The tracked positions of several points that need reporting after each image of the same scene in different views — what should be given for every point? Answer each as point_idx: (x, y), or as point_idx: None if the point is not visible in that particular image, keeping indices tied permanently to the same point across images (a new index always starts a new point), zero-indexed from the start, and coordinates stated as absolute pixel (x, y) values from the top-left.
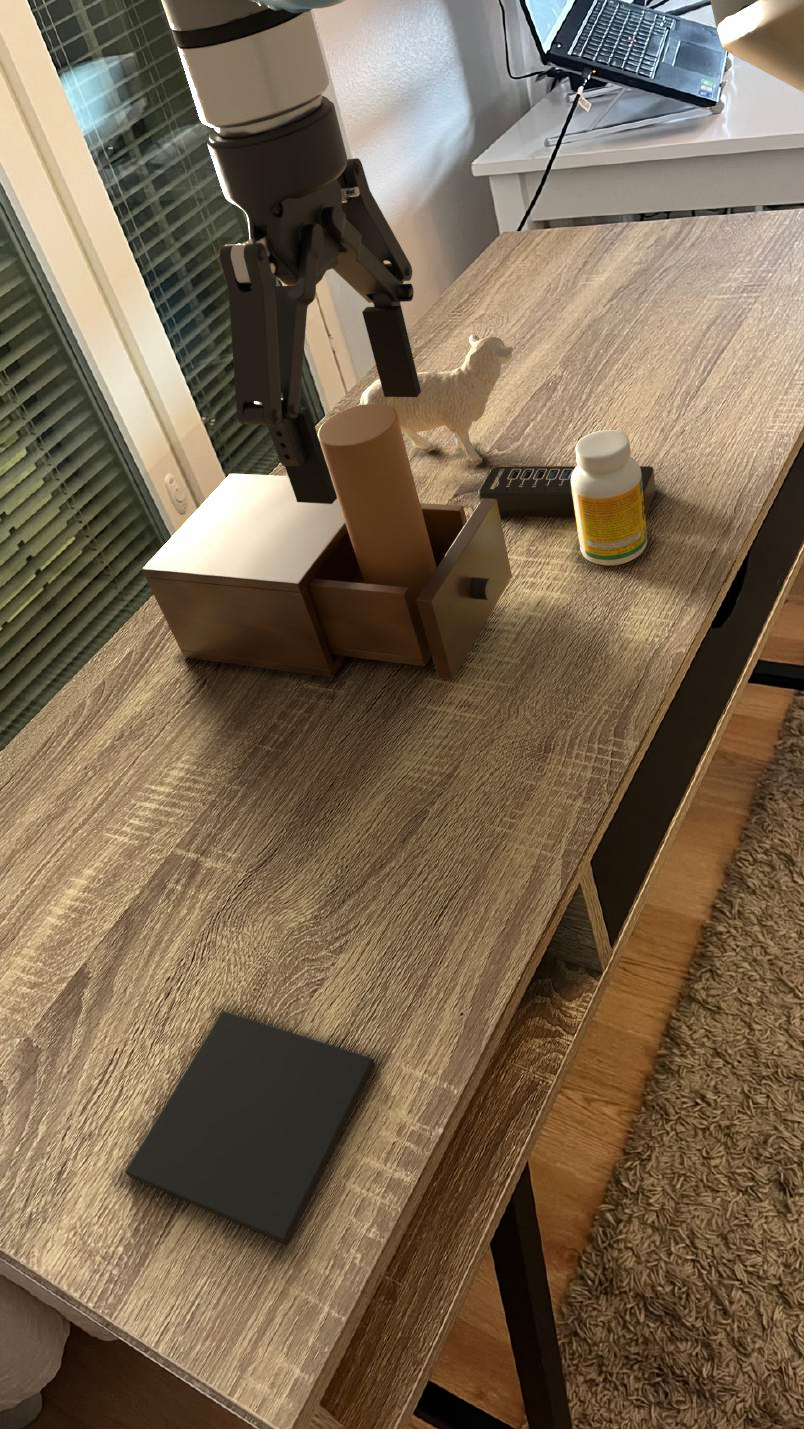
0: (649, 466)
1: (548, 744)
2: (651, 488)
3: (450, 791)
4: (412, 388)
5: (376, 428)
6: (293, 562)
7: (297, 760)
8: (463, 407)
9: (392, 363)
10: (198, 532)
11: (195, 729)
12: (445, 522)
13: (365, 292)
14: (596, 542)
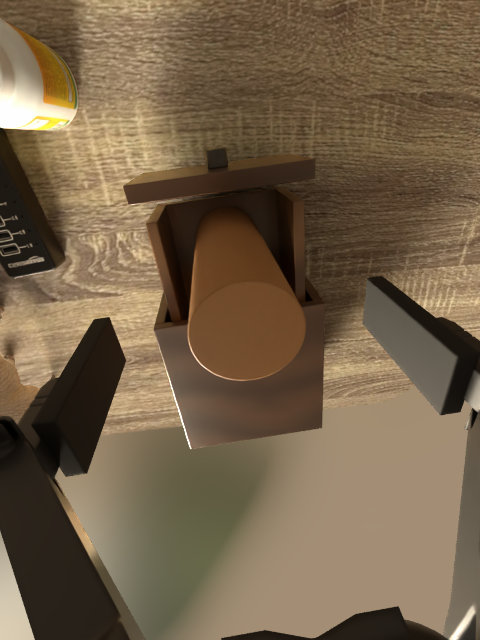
0: None
1: (335, 11)
2: None
3: (399, 85)
4: (107, 327)
5: (254, 301)
6: None
7: (379, 235)
8: None
9: (103, 373)
10: (271, 421)
11: (360, 321)
12: (163, 237)
13: (66, 501)
14: (67, 85)
